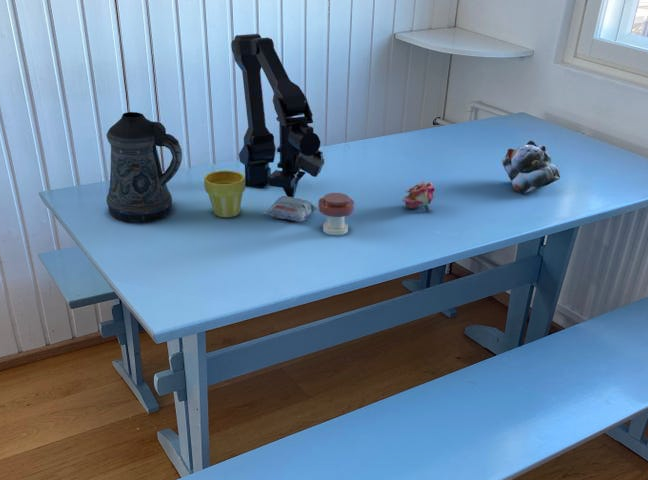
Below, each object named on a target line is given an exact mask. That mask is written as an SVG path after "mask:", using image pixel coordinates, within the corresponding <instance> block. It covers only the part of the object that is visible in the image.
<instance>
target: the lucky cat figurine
mask: <svg viewBox="0 0 648 480" xmlns="http://www.w3.org/2000/svg"><path fill="white" fill-rule="evenodd" d="M501 163H502V166H503V169H504V171H505V172H506V174H507V177H508V178H509V180H510V182H511V184H512V188H513V190H514V191H515V192H517V193H520V194H522V195H524V194H526V193H530V192H532V191H535V190H537V189H539V188H543V187H545V186H547V185H550V184H553V183H554V182H556V181H559V180H560V179H561V173H560V172H561V171H560V169H559V168H558V166H557V165H555V164H554V163H552V159H551V156H550V154H549V152H548V151H547V147H546V144H541V145H539V146H538V145H537V144H536V143H535V141H534V140H529V141H528V142H527V143H526V144H523V145H520V146H519V147H517V148H515V149H513V148H508V149H507V151H506V155H505V156H504V157H503V158H502V160H501Z"/></svg>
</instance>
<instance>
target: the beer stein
mask: <svg viewBox="0 0 648 480" xmlns="http://www.w3.org/2000/svg"><path fill="white" fill-rule="evenodd" d="M105 135H106V139H107V142H108V143H109V145H110V176H109V177H110V178H109V179H110V180H109V188H108V192H107V195H106V205H107V207H108V214H109V215H110V216H111V217H112V218H113V219H115V220H116V221H120V222H124V223H126V224H127V223H128V224H145V223H151V222H156V221H159V220H163V219H164V218H165V217H166V216H168V215H169V214H170V213H171V211H172V204H173V197H172V194H171V192H170V190H169V188H168V185H167V183H169V182H170V181H171V179H173V177H175V175H176V174H177V173H178V171H179V169H180V167H181V164H182V160H183V150H182V147H181V145H180V142H179V140H178V139H177V138H176V137H175V136H174V135H172V134H169V133H167V129H166V127H165V125H164V124H163V123H162V122H158V121H153V120H149V119H148V118H146V116H145V115H144V113H141V112H136V111H135V112H134V111H127V112H124V113H122V115H121V117H120V119H118V121H117V122H115V123H114V124H113V125H112V126H111V127H110V128H109V129H108V130H107V133H106V134H105ZM157 147H165V148H167V149H168V150H169V151H170V153H171V157H172V158H171V161H170V164H169V165H168V167H167V168H166V170H165V171H164V172H163V167H162V163H161V160H160V156H159V152H158V148H157Z"/></svg>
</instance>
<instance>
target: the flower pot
mask: <svg viewBox="0 0 648 480" xmlns="http://www.w3.org/2000/svg"><path fill="white" fill-rule="evenodd" d="M203 177H204V178H203V182H204V190H205V192H206V193H207V195H208V197H209V201H210V204H211V206H212V210H213V213H214V215H215V216H217V217H220V218H233V217H236V216H238V215H239V214H240V211H241V204H242V199H243V193H244V192H245V190H246V185H245V174H243V173H241V172H240V171H236V170H229V169H228V170H227V169H226V170H216V171H211V172H209V173H207V174H205V176H203Z"/></svg>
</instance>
